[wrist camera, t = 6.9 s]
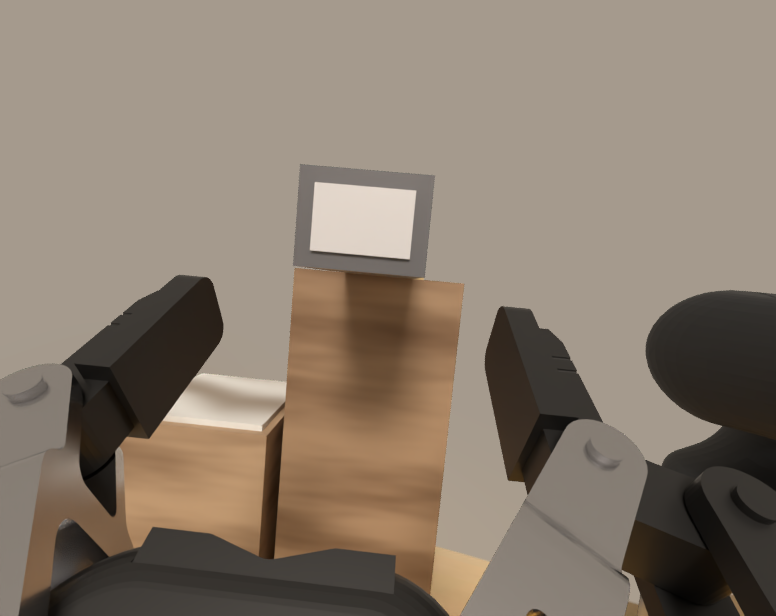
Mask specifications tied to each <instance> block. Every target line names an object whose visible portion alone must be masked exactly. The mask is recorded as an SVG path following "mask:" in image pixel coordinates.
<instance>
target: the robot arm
mask: <svg viewBox="0 0 776 616" xmlns="http://www.w3.org/2000/svg"><path fill="white" fill-rule="evenodd" d="M222 335H223V321H222V317H221V313H220V309H219V305H218V301H217V297H216V293H215V290H214V286H213V283H212V281H211V280H210V279H209V278H207V277H197V276H186V275H178V276H176V277H174V278H173V279H172V280H171V281H169V282H168V283H167V284H166V285H165V286H164V287H162V288H161V289H160V290H159V291H156V292H154V293H152V294H150V295H148V296H146V297H144V298H142V299H140V300H138V301H137V302H135V303H134V304H133V305H132V306H131V307H129V308H128V309H127V310H126V311H125V312H123V315H120V316H119V317H117V318H116V319H115V320H114V321H112V322H111V326H106V327H105V328H104V329H103V330H102V331H100V332H99V333H98V334H97V335H96V336H94V337H93V338H92V339H91V340H90V341H88V342H87V343H86V344H85V345H84V346H83V347H81V348H80V349H79V350H78V351H76V352H75V353H74V354H73V355H71V356H70V357H69V358H68V359H67V360H65V361H64V362H63V363H62V364H42V365H36V366H32V367H29V368H25V369H22V370H20V371H17V372H15V373H13V374H10V375H8V376H6V377H4V378H2V379H1V380H0V616H449V615H448V613H447V612H446V611H445V610H444V609H443V608H442V607H441V606H440V604H439V603H438V602H437V601H436V600H435V599H434V598H433V597H432V596H430V595H429V594H428V593H427V592H426V591H424V590H423V589H422V588H421V587H419V586H418V585H416V584H415V583H413V582H412V581H410V580H409V579H407V578H405V577H403V576H401V575H399V574H396V573H395V563H396V555H388V554H380V553H371V552H363V551H354V550H346V549H337V548H334V549H328V550H322V551H317V552H311V553H306V554H300V555H294V556H289V557H283V558H277V559H264V558H261V557H259V556H257V555H255V554H253V553H251V552H249V551H246V550H244V549H242V548H240V547H238V546H236V545H234V544H232V543H230V542H228V541H226V540H224V539H222V538H220V537H217V536H215V535H213V534H210V533H202V532H194V531H185V530H177V529H168V528H160V527H152V529H151V531H150V532H149V534H148V536H147V537H146V539H145V541H144V543H143V544H142V546H141V547H137V548H134V547H133V544H132V541H131V539H130V537H129V534H128V530H127V525H126V509H125V484H124V459H123V452H122V450H121V448H120V445H121V444H122V442H123V441H124V440H125V438H126V437H133V438H142V439H150V437H151V436H152V434H153V433H154V432H155V430H156V429H157V428H158V426H159V425H160V423H161V422H162V421H163V419H164V418H165V417H166V415H167V414H168V412H169V411H170V410H171V408H172V407H173V406H174V404H175V403H176V402H177V400H178V399H179V397H180V396H181V395H182V393H183V392H184V391H185V389H186V388H187V386H188V385H189V384H190V382H191V381H192V380H193V378H194V377H195V375H196V374H197V373H198V371H199V370H200V369H201V367H202V366H203V365H204V363H205V361H206V360H207V359H208V358H209V356H210V355H211V354H212V352H213V351H214V349H215V348H216V347H217V345H218V344H219V342H220V340H221V338H222ZM646 359H647V363H648V367H649V369H650V372H651V374H652V376H653V378H654V380H655V381H656V383H657V384H658V386H659V387H660V388H661V390H662V391H663V392H664V393H665V394H666V395H667V396H668V397H669V398H670V399H671V400H672V401H673V402H675V403H676V404H677V405H678V406H679V407H681V408H682V409H684V410H686V411H687V412H689V413H690V414H692V415H694V416H696V417H698V418H700V419H702V420H705V421H708V422H711V423H714V424H718V425H721V426H722V427H721V428H720V429H719V430H718V431H717V432H716V433H715V434H714V435H712V436H711V437H709V438H708V439H706V440H704V441H702V442H700V443H697V444H695V445H692V446H689V447H685V448H682V449H679V450H676V451H674V452H672V453H670V454H669V455H668V456H667V457H666V458H665V459H664V461H663V463H662V466H660V465H657V464H654V463H652V462H649V461H647V460H645V459H644V457H643V455H642V453H641V452H640V450H639V449H638V447H637V446H636V445H635V444H634V443H633V442H632V441H631V440H630V439H629V438H628V437H627V436H625V435H624V434H623V433H621V432H620V431H618V430H617V429H615V428H614V427H611V426H609V425H607V424H605V423H603V421H602V419H601V417H600V416H599V413H598V411H597V410H596V408H595V406H594V404H593V402H592V400H591V398H590V396H589V394H588V392H587V390H586V388H585V386H584V384H583V382H582V380H581V378H580V376H579V374H577V373H576V371H577V370H576V368H575V366H574V364H573V363H572V361H570V356H569V354H568V352H567V350H566V349H565V346H564V344H563V343H562V342H561V341H560V340H559V339H558V338H557V337H556V336H555V335H554V334H553V333H552V332H551V331H549V330H548V329H540V328H539V326H538V324H537V322H536V320H535V317H534V315H533V313H532V311H531V310H530V309H525V308H514V307H503V306H502V307H500V308H499V310H498V312H497V315H496V318H495V322H494V325H493V329H492V332H491V335H490V339H489V342H488V346H487V349H486V355H485V371H486V376H487V381H488V386H489V391H490V396H491V401H492V405H493V410H494V415H495V420H496V425H497V429H498V435H499V439H500V444H501V449H502V454H503V459H504V464H505V469H506V473H507V478H508V480H509V481H518V482H525V486H526V490H527V494H528V496H527V498H526V499H525V501H524V503H523V505H522V506H521V508H520V510H519V512H518V514H517V515H516V517H515V519H514V521H513V522H512V524H511V526H510V528H509V529H508V531H507V533H506V535H505V537H504V538H503V540H502V542H501V544H500V545H499V547H498V549H497V551H496V552H495V554H494V556H493V558H492V560H491V561H490V563H489V565H488V567H487V568H486V570H485V572H484V574H483V575H482V577H481V579H480V581H479V583H478V584H477V586H476V588H475V590H474V591H473V593H472V595H471V597H470V598H469V600H468V602H467V604H466V606H465V607H464V609H463V611H462V613H461V614H460V616H625V612H626V608H627V603H628V598H629V592H630V583H629V579H628V578H627V577H626V576H625V575H623V574H622V572H621V570H624V571H626V572H628V573H630V574H632V575H634V577H635V580H636V583H637V586H638V588H639V591H640V600H639V606H638V612H637V616H776V294H768V293H758V292H748V291H747V292H746V291H733V290H729V291H716V292H708V293H703V294H700V295H696V296H693V297H691V298H688V299H686V300H683V301H681V302H679V303H678V304H676V305H674V306H673V307H671V308H670V309H669V310H667V311H666V312H665V313H664V314H663V315H662V316H661V317H660V318H659V319H658V320H657V322H656V323H655V324H654V325H653V327H652V329H651V331H650V333H649V335H648V338H647V342H646Z"/></svg>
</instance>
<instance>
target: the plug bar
mask: <svg viewBox="0 0 776 616" xmlns="http://www.w3.org/2000/svg"><path fill="white" fill-rule="evenodd" d="M434 178H435V176H434V175H421V174H410V173H398V172H386V171H374V170H363V169H351V168H338V167H327V166H315V165H303V164H300V175H299V190H298V203H297V217H296V232H295V246H294V247H295V248H294V260H293V261H294V262H293V265H294V266H300V267H307V268H315V269H322V270H329V271H336V272H344V273H354V274H364V275H375V276H386V277H397V278H407V279H418V280H423V279H424V277H425V268H426V258H427V248H428V238H429V228H430V218H431V209H432V199H433V188H434Z"/></svg>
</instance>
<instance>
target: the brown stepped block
mask: <svg viewBox="0 0 776 616" xmlns="http://www.w3.org/2000/svg"><path fill="white" fill-rule="evenodd" d="M463 291H464V284H461V283H450V282H439V281H428V280H418V279H407V278H397V277H386V276H375V275H364V274H354V273H343V272H332V271H320V270H311V269H299V268H295V272H294V286H293V299H292V313H291V328H290V343H289V357H288V371H287V382H283V381H273V380H264V379H254V378H244V377H235V376H225V375H215V374H204V373H202V374H200V375H198V376H196V377H194V378H193V380H192V381H191V382H190V384H189V385H188V386H187V388H186V389H185V391H184V392H183V393H182V395H181V396H180V397H179V399H178V400H177V402H176V403H175V404H174V406H173V407H172V408H171V410H170V411H169V412H168V414H167V415H166V417H165V418H164V419H163V421H162V422H161V423H160V425H159V426H158V428H157V429H156V430H155V432H154V433H153V434H152V436H151V437H150V439H142V438H133V437H126V438H125V440H124V441H123V442H122V444H121V445H120V448H121V450H122V452H123V459H124V484H125V509H126V525H127V530H128V534H129V537H130V539H131V541H132V544H133V547H134V548H137V547H141V546H142V544H143V543H144V541H145V539H146V537H147V536H148V534H149V532H150V531H151V529H152V527H160V528H168V529H177V530H185V531H194V532H202V533H210V534H213V535H215V536H217V537H220V538H222V539H224V540H226V541H228V542H230V543H232V544H234V545H236V546H238V547H240V548H242V549H244V550H246V551H249V552H251V553H253V554H255V555H257V556H259V557H261V558H264V559H277V558H283V557H289V556H294V555H300V554H306V553H311V552H317V551H322V550H328V549H334V548H337V549H346V550H354V551H363V552H371V553H380V554H388V555H396V563H395V573H396V574H399V575H401V576H403V577H405V578H407V579H409V580H410V581H412V582H413V583H415V584H416V585H418V586H419V587H421V588H422V589H423V590H424V591H426V592H427V593H428V594H429V595H430V590H431V581H432V572H433V563H434V554H435V544H436V535H437V526H438V517H439V508H440V499H441V490H442V480H443V472H444V463H445V454H446V445H447V436H448V426H449V417H450V409H451V400H452V391H453V381H454V372H455V363H456V354H457V344H458V336H459V327H460V318H461V309H462V300H463Z"/></svg>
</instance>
